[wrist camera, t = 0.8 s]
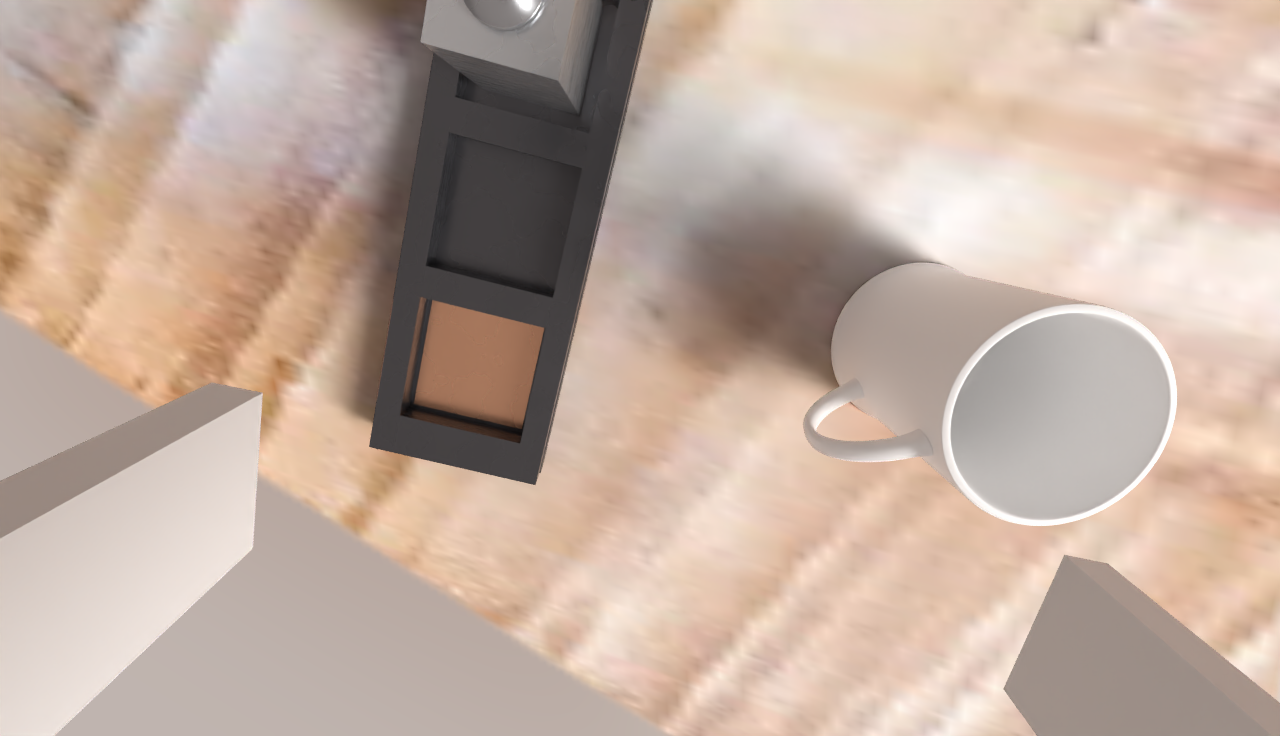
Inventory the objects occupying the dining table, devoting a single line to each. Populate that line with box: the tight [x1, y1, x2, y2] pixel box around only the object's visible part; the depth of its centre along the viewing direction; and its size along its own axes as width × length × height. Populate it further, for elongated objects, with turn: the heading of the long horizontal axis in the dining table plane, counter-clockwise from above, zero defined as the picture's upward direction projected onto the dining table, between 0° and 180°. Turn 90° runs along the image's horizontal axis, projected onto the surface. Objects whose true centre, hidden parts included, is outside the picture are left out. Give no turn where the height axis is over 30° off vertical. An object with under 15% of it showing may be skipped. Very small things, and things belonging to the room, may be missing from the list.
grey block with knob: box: [420, 0, 603, 116], centre depth 24 cm, size 4×4×10 cm
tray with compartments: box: [369, 0, 653, 485], centre depth 30 cm, size 25×9×2 cm, turn 166°
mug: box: [803, 262, 1177, 526], centre depth 28 cm, size 12×8×12 cm
